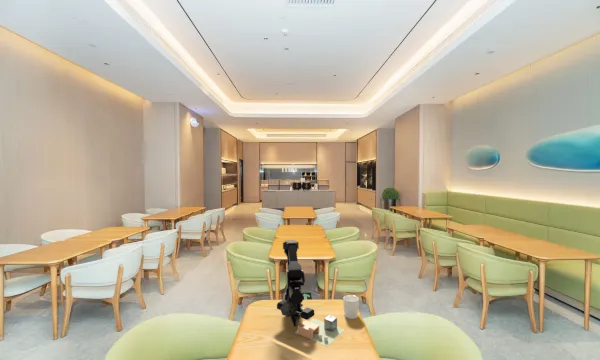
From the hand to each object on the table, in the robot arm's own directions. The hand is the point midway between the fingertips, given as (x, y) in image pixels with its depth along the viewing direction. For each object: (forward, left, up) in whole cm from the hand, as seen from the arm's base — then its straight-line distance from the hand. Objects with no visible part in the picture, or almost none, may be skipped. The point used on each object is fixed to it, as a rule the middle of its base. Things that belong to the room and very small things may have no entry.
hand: (295, 326), depth 141 cm
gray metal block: (+14, +10, -1) cm, 17 cm away
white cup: (+16, +27, -2) cm, 31 cm away
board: (+11, +5, -2) cm, 12 cm away
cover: (+8, 0, -1) cm, 8 cm away
